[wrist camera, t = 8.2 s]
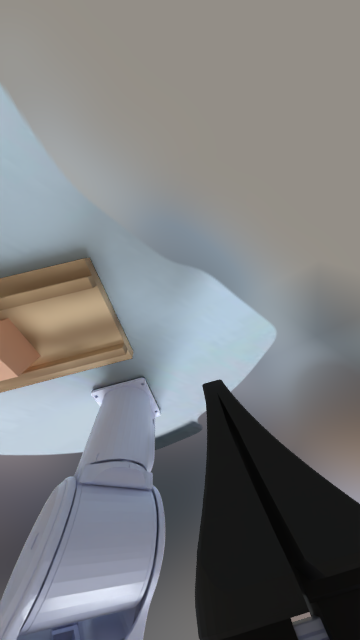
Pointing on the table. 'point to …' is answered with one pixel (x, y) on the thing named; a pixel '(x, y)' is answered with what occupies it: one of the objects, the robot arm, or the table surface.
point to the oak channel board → (62, 321)
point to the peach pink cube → (14, 351)
